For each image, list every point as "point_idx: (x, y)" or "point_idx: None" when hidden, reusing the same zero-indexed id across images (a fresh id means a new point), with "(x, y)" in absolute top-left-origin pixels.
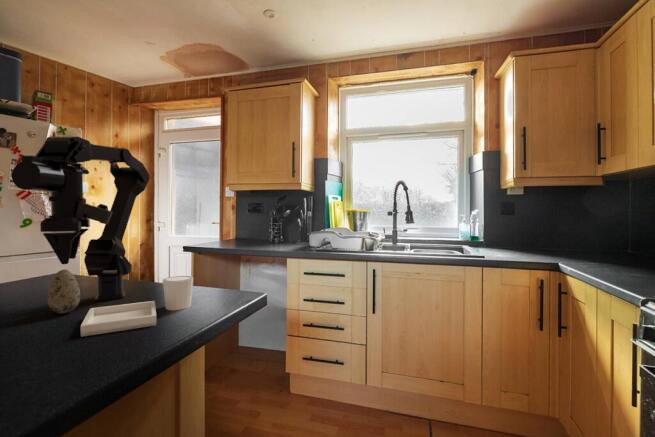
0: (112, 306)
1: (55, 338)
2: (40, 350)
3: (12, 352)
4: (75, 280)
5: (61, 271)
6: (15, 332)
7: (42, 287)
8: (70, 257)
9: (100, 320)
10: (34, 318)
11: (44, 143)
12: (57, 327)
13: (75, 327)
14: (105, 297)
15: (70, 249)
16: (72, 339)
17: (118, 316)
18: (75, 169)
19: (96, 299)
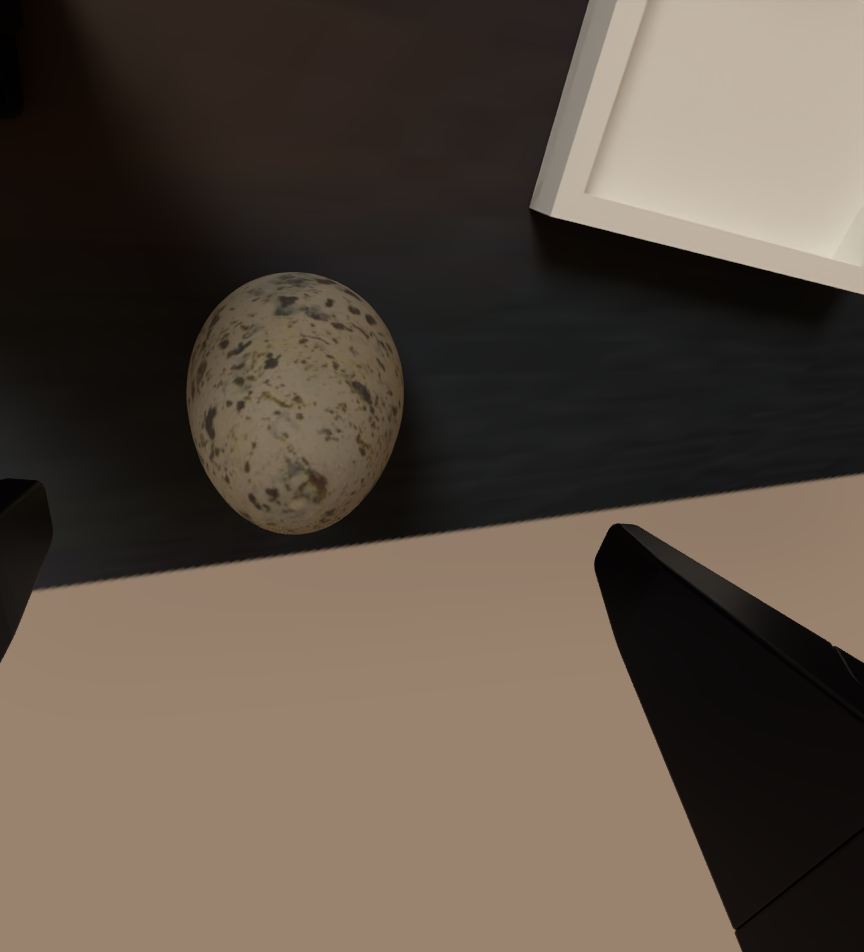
0: (628, 53)
1: (743, 370)
2: (826, 407)
3: (760, 475)
4: (327, 357)
5: (327, 512)
6: (526, 498)
7: None
8: (42, 540)
9: (719, 170)
10: None
11: None
12: (587, 367)
13: (659, 295)
14: (18, 6)
15: (806, 639)
16: (820, 312)
17: (736, 40)
18: None
19: (16, 101)
